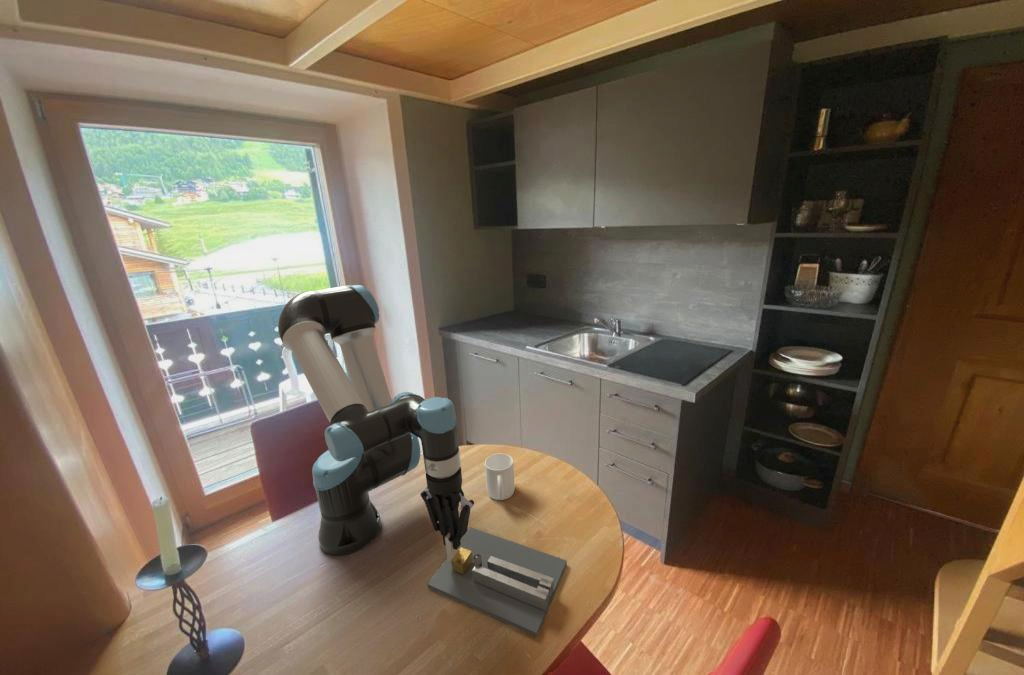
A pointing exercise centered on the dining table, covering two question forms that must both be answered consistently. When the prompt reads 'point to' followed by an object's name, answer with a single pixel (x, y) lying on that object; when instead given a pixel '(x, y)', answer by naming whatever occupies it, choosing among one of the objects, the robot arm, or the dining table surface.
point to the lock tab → (462, 560)
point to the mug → (499, 476)
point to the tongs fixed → (509, 585)
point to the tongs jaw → (521, 574)
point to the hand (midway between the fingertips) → (453, 557)
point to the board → (488, 598)
